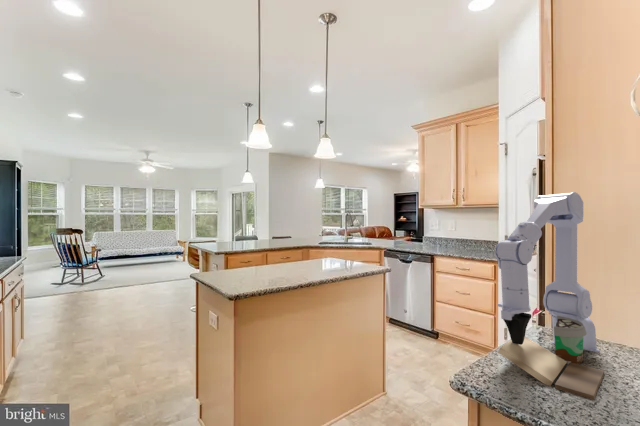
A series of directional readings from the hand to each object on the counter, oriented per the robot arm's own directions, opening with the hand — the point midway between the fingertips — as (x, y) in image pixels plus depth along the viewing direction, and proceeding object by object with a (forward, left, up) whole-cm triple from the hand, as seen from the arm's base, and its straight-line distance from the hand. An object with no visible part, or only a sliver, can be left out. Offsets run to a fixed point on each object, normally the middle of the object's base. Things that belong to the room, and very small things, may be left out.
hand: (517, 343), depth 77 cm
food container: (-15, 0, -6) cm, 16 cm away
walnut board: (-7, +10, -6) cm, 13 cm away
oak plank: (-2, +2, -3) cm, 4 cm away
